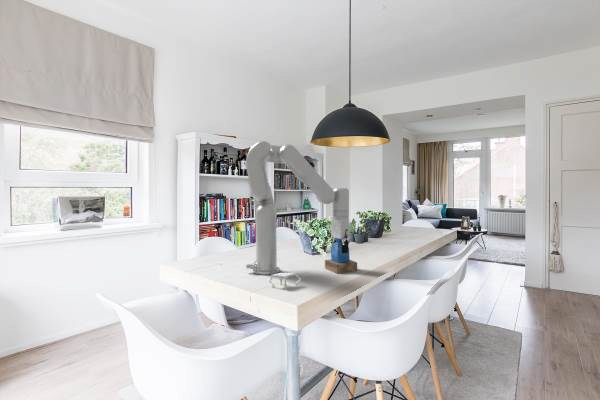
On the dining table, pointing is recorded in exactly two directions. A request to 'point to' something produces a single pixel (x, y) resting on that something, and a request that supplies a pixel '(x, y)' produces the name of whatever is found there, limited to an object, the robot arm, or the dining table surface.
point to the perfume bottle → (339, 252)
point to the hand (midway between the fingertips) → (340, 251)
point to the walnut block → (341, 266)
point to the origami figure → (284, 277)
